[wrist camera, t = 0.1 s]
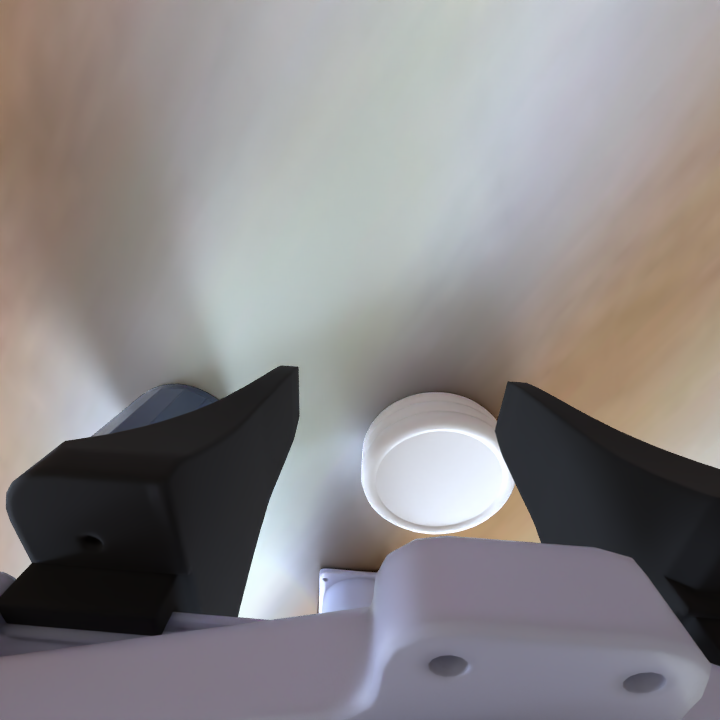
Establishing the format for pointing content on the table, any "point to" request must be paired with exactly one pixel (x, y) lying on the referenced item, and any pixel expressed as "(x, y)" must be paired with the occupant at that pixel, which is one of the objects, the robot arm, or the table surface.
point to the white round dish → (434, 464)
